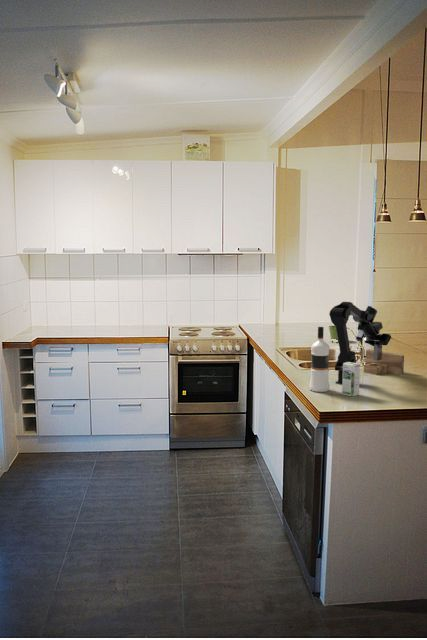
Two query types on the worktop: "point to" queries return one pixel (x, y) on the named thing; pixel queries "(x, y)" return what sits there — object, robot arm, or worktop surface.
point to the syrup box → (350, 379)
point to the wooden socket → (384, 363)
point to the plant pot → (333, 332)
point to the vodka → (319, 364)
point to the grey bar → (377, 352)
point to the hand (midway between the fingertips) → (379, 347)
